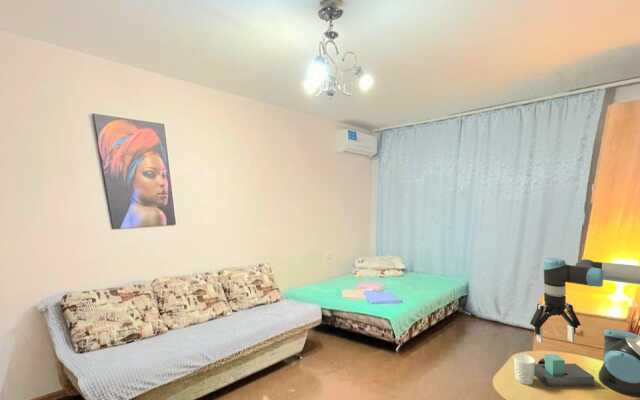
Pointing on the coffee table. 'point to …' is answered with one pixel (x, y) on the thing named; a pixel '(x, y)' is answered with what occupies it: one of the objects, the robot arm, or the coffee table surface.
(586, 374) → the grey slotted board
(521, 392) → the coffee table surface
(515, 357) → the white cup
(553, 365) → the teal block
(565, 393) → the coffee table surface
